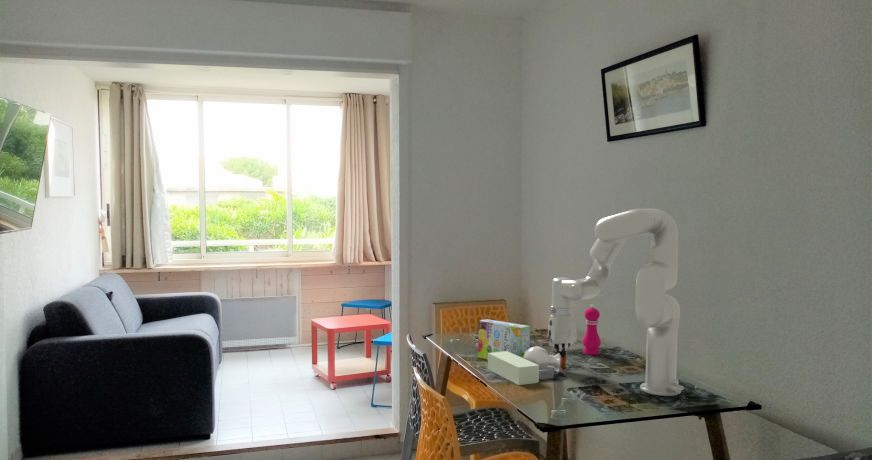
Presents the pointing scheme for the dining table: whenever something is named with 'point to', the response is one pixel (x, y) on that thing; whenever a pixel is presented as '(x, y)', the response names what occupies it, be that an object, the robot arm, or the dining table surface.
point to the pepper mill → (591, 332)
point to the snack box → (502, 338)
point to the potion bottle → (545, 358)
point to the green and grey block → (517, 368)
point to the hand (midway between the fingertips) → (561, 361)
